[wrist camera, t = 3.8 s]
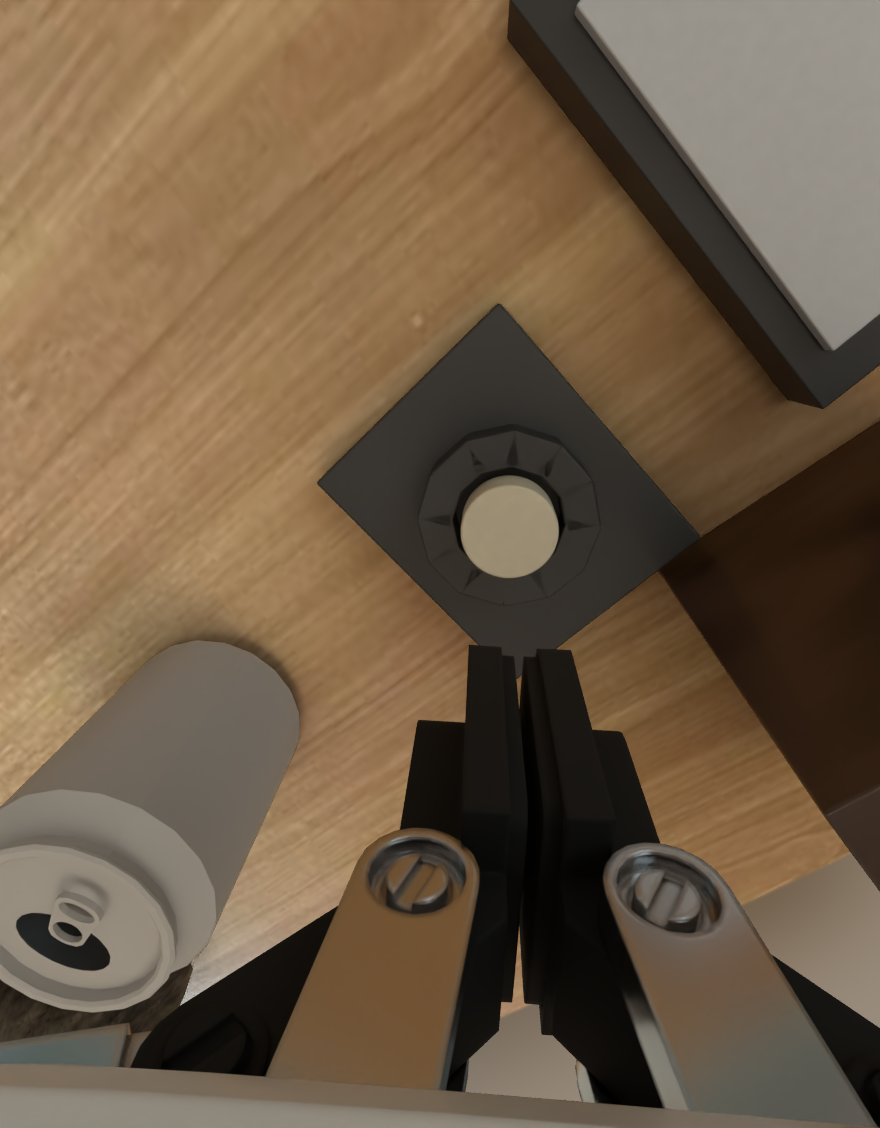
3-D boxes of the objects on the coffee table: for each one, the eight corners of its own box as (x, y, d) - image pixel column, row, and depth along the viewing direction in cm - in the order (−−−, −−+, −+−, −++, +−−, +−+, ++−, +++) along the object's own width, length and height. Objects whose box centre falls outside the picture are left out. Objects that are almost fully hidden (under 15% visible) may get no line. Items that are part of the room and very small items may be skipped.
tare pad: (690, 526, 25) (715, 552, 23) (513, 664, 28) (515, 703, 25) (498, 303, 23) (499, 300, 20) (324, 475, 26) (304, 493, 23)
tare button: (573, 522, 23) (579, 536, 22) (504, 580, 24) (505, 597, 22) (512, 455, 22) (513, 464, 21) (443, 517, 23) (440, 530, 22)
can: (116, 727, 30) (-102, 963, 19) (179, 600, 28) (-29, 786, 17) (262, 802, 31) (135, 1070, 20) (335, 685, 29) (237, 916, 18)
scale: (1165, 97, 20) (1289, 56, 17) (787, 400, 24) (832, 412, 21) (890, -398, 17) (980, -559, 14) (506, 38, 21) (509, -12, 18)
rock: (245, 966, 34) (107, 1203, 25) (111, 1015, 38) (-48, 1232, 29) (120, 815, 32) (-76, 1006, 23) (-4, 883, 37) (-210, 1067, 28)
